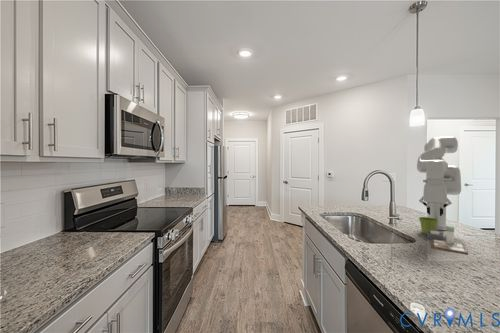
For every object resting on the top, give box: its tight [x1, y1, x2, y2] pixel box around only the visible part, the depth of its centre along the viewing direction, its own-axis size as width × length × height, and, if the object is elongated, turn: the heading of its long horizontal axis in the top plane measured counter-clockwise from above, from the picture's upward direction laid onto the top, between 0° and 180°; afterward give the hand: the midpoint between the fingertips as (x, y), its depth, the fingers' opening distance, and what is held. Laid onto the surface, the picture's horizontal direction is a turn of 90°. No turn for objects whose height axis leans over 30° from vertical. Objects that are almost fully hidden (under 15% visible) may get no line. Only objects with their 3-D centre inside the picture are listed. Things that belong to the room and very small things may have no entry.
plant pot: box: [418, 216, 438, 235], centre depth 136 cm, size 9×9×9 cm
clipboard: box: [431, 239, 469, 255], centre depth 114 cm, size 16×13×1 cm
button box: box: [426, 231, 444, 240], centre depth 126 cm, size 7×7×3 cm
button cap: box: [430, 230, 441, 235], centre depth 126 cm, size 4×4×2 cm
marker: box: [445, 225, 455, 244], centre depth 116 cm, size 3×3×8 cm
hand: (434, 214), depth 126 cm, fingers open, 4 cm apart
